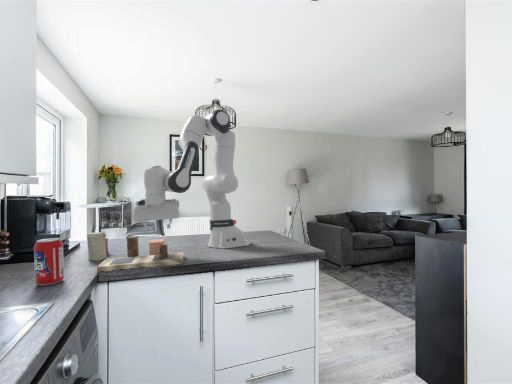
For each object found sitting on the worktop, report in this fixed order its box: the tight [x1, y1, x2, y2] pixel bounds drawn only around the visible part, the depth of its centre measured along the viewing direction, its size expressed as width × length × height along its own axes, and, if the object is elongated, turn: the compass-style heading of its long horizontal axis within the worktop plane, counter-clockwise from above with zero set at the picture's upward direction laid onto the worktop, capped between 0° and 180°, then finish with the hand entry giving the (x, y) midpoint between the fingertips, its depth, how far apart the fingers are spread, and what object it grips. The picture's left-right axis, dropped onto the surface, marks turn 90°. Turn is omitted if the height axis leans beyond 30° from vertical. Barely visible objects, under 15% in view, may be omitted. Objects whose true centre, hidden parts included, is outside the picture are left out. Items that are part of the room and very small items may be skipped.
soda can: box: [33, 237, 65, 287], centre depth 91 cm, size 8×8×15 cm
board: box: [96, 244, 184, 273], centre depth 112 cm, size 32×12×7 cm, turn 105°
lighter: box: [105, 233, 109, 255], centre depth 130 cm, size 8×3×10 cm, turn 129°
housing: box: [148, 238, 165, 255], centre depth 125 cm, size 6×8×7 cm
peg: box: [126, 235, 140, 257], centre depth 121 cm, size 4×4×10 cm
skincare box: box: [86, 231, 107, 262], centre depth 121 cm, size 6×4×12 cm
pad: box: [109, 257, 135, 265], centre depth 110 cm, size 8×9×1 cm
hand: (158, 229), depth 126 cm, fingers open, 8 cm apart
